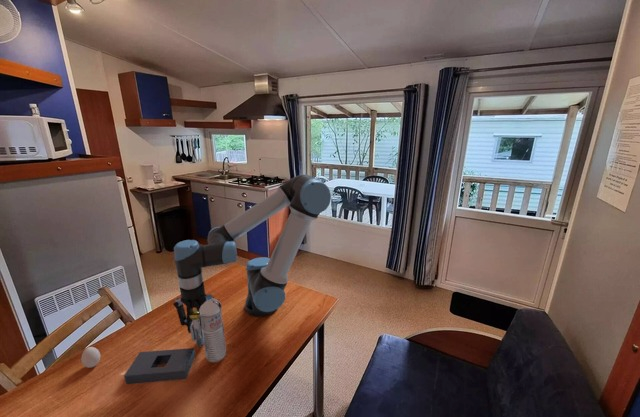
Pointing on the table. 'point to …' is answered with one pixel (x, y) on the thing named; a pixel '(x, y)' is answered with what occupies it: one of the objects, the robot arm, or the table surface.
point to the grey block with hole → (149, 371)
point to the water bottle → (212, 329)
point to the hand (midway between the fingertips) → (199, 338)
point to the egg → (90, 357)
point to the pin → (197, 327)
